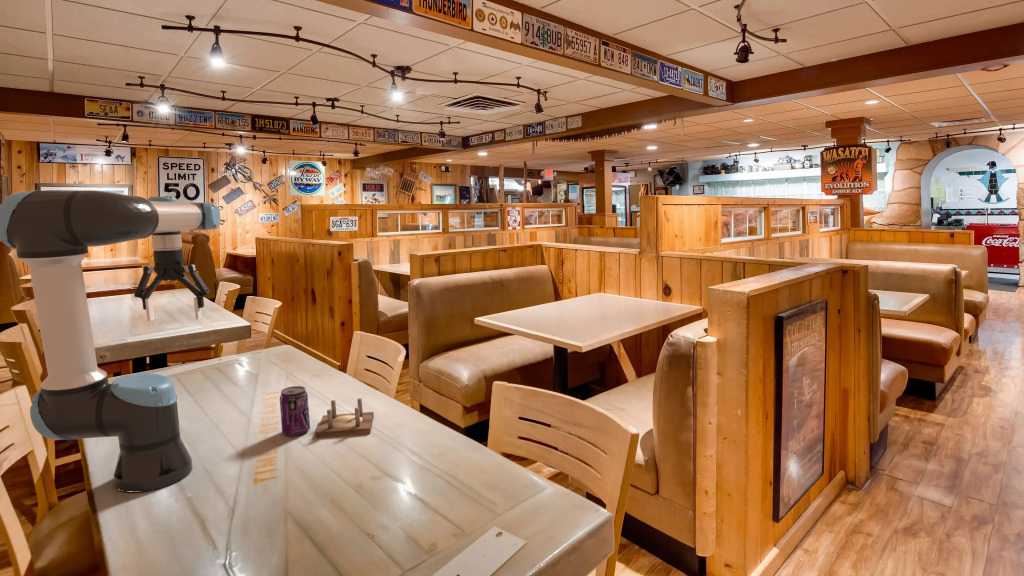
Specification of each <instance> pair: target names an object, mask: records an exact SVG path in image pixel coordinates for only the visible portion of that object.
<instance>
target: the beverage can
mask: <svg viewBox="0 0 1024 576" xmlns="http://www.w3.org/2000/svg"><path fill="white" fill-rule="evenodd" d="M280 393H281V394H280V396H279V406H280V407H279V409H280V419H281V421H280V423H281V432H282V433H283V434H284V435H287V436H290V437H293V436H300V435H303V434H305V433H307V432H308V431H309V430H310V428H311V423H310V421H311V420H310V408H309V398H308V397H309V396H308V393H307V391H306V387H305V386H300V385H293V386H288V387H285V388H283V389H281V391H280Z"/></svg>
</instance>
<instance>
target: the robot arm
mask: <svg viewBox="0 0 1024 576" xmlns="http://www.w3.org/2000/svg"><path fill="white" fill-rule="evenodd" d="M221 220H222V219H221V211H220V208H219V207H218V205H217V204H216V203H214V202H206V201H205V202H184V201H180V202H179V201H178V199H177V198H176V197H175V196H149V197H148V198H145V197H142V196H137V195H130V194H129V195H128V194H122V193H121V194H120V193H116V192H115V193H114V192H109V191H100V190H86V189H85V190H41V189H40V190H39V189H34V190H27V191H16V192H13V193H11V194H9V195H7V196H6V197H5V198H4V199H3V201H2V202H1V204H0V241H2V243H3V244H4V245H5V246H7V247H9V248H11V249H15V250H16V257H17V259H18V260H19V261H21V262H22V263H23V264H25V265H27V266H28V269H29V274H30V279H31V286H32V292H33V295H34V296H33V297H34V303H35V307H36V308H35V309H36V315H37V319H38V324H39V333H40V336H41V341H42V348H43V353H44V354H43V355H44V360H45V366H46V371H47V377H46V378H45V379H43V381H42V382H41V383H40V389H39V390H38V391H37V392H36V393H35V394H34V395H33V397H32V399H31V404H32V405H30V407H29V413H30V414H29V415H30V420H31V423H32V426H33V427H34V430H35V431H36V432H37V433H38V434H39V435H41V436H42V437H44V438H47V439H48V440H65V441H72V440H82V439H95V438H110V437H117V438H118V445H119V454H118V458H117V461H116V465H115V469H114V474H113V483H114V488H115V487H116V488H118V489H120V490H123V491H144V492H148V491H147V490H150V491H153V490H152V489H155V490H158V489H157V488H159V489H162V488H165V487H168V486H171V485H173V484H175V483H177V482H180V481H181V480H183V479H184V478H186V477H187V476H188V475H189V474H190V473H191V472H192V470H193V460H192V457H191V455H190V453H189V451H188V449H187V447H186V445H185V444H184V442H183V440H182V437H181V431H180V430H181V429H180V421H179V409H178V401H177V400H178V395H177V393H176V387H175V383H174V381H173V380H172V379H171V378H169V377H168V376H166V375H163V374H158V373H136V374H128V375H122V376H120V377H117V378H115V379H114V380H112V383H110V382H109V379H108V373H107V371H105V370H103V369H101V368H99V367H98V362H97V355H96V348H95V342H94V336H93V329H92V323H91V317H90V309H89V304H88V297H87V292H86V285H85V279H84V272H83V265H82V262H83V260H84V259H85V258H86V257H87V256H88V255H89V248H88V247H101V246H102V247H103V246H110V245H115V244H120V243H125V242H129V241H130V242H131V241H135V240H142V239H146V238H149V237H151V244H152V245H151V246H152V249H153V253H152V254H153V261H154V262H153V263H154V266H152V265H150V264H149V265H144V266H143V267H142V275H141V278H140V280H139V282H138V284H137V288H136V290H135V292H134V293H133V294H134V298H139V299H141V302H142V303H141V304H142V308H143V310H145V311H146V318H147V319H146V321H147V322H151V321H154V320H155V319H156V318H155V309H154V307H155V306H154V299H153V298H152V297H151V296H152V294H153V293H154V292H155V291H156V289H157V288H158V287H159V285H161V283H162V282H163V281H164V282H166V281H169V280H170V281H172V282H173V281H174V282H175V281H177V280H178V282H180V283H181V284H182V285H183V286H185V287H186V288H187V289H188V290H189V291H190V292H191V293H192V294H193V295H194V296H195V297H193V304H194V306H193V307H194V317H195V320H200V319H203V311H202V309H203V308H204V307H205V299H204V297H205V296H208V295H210V293H211V292H210V289H209V288H208V287H207V285H206V284H205V282H204V280H203V279H202V277H201V276H200V274H199V272H198V271H197V266H196V264H189V265H185V264H184V261H185V260H184V259H185V258H184V251H183V250H182V247H183V240H182V233H181V232H184V231H185V232H186V231H208V230H217V229H218V228H219V226H220V224H221ZM185 271H187V272H186V273H188V274H189V275H190V277H191V278H192V280H193V282H194V283H195V284H194V283H193V282H192V281H191V280H190V279H189V277H188V276H187V275H186V274H185ZM153 273H156V276H155V277H154V278H153V281H151V283H150V284H149V286H148V287H147V285H148V283H149V281H150V278H151V276H152V274H153ZM170 484H171V485H170ZM167 485H168V486H167ZM164 486H165V487H164ZM161 487H162V488H161ZM116 488H115V489H116Z"/></svg>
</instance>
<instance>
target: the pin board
mask: <svg viewBox="0 0 1024 576" xmlns="http://www.w3.org/2000/svg"><path fill="white" fill-rule="evenodd" d="M330 401H331V402H330V406H331V409H327V410H326V415H324V414H323V415H322V418H321V420H320V422H319V423H318V426H317V429H316V431H315V438H317V439H319V438H329V437H345V436H356V435H357V436H358V435H369V434H371V433H372V432H371V431H372V427H373V421H374V418H375V415H374V411H368V412H363V398H361V397H360V398H357V407H354V412H353V413H342V414H341V413H340V414H337V404H336V399H332V400H330Z"/></svg>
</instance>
